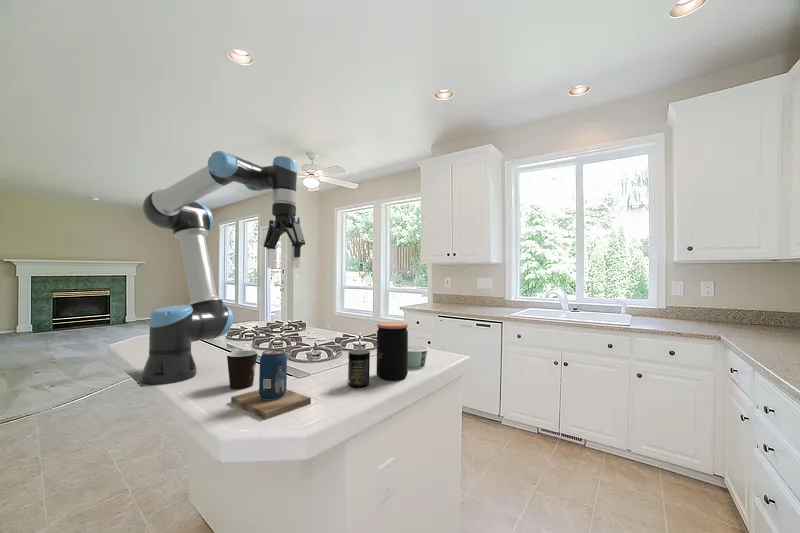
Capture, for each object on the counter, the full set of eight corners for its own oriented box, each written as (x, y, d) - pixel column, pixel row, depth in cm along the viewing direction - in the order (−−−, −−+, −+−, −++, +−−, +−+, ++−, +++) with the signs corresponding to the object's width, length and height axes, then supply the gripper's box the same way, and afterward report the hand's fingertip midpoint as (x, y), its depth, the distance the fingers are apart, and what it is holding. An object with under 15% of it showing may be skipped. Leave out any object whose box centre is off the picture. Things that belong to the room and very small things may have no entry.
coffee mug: (244, 391, 99) (245, 357, 100) (219, 389, 101) (220, 355, 101) (268, 380, 111) (268, 349, 111) (244, 378, 112) (245, 347, 113)
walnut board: (231, 402, 91) (231, 396, 91) (275, 390, 101) (275, 385, 101) (265, 419, 80) (265, 413, 80) (310, 403, 90) (310, 397, 90)
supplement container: (372, 387, 104) (372, 353, 104) (350, 390, 102) (350, 355, 102) (366, 381, 110) (366, 349, 111) (345, 383, 108) (346, 350, 108)
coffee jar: (379, 371, 122) (380, 321, 122) (409, 373, 120) (409, 322, 121) (373, 380, 111) (374, 325, 112) (405, 382, 110) (406, 326, 110)
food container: (391, 364, 133) (391, 347, 133) (413, 359, 141) (413, 343, 141) (413, 370, 124) (413, 352, 124) (435, 365, 132) (435, 348, 132)
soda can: (267, 391, 95) (268, 348, 96) (290, 392, 94) (291, 349, 95) (253, 400, 88) (254, 353, 89) (278, 401, 88) (280, 354, 88)
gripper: (317, 201, 109) (316, 267, 108) (273, 210, 124) (272, 268, 123) (297, 197, 103) (295, 267, 102) (254, 206, 118) (252, 267, 117)
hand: (283, 267), depth 113 cm, fingers open, 13 cm apart
